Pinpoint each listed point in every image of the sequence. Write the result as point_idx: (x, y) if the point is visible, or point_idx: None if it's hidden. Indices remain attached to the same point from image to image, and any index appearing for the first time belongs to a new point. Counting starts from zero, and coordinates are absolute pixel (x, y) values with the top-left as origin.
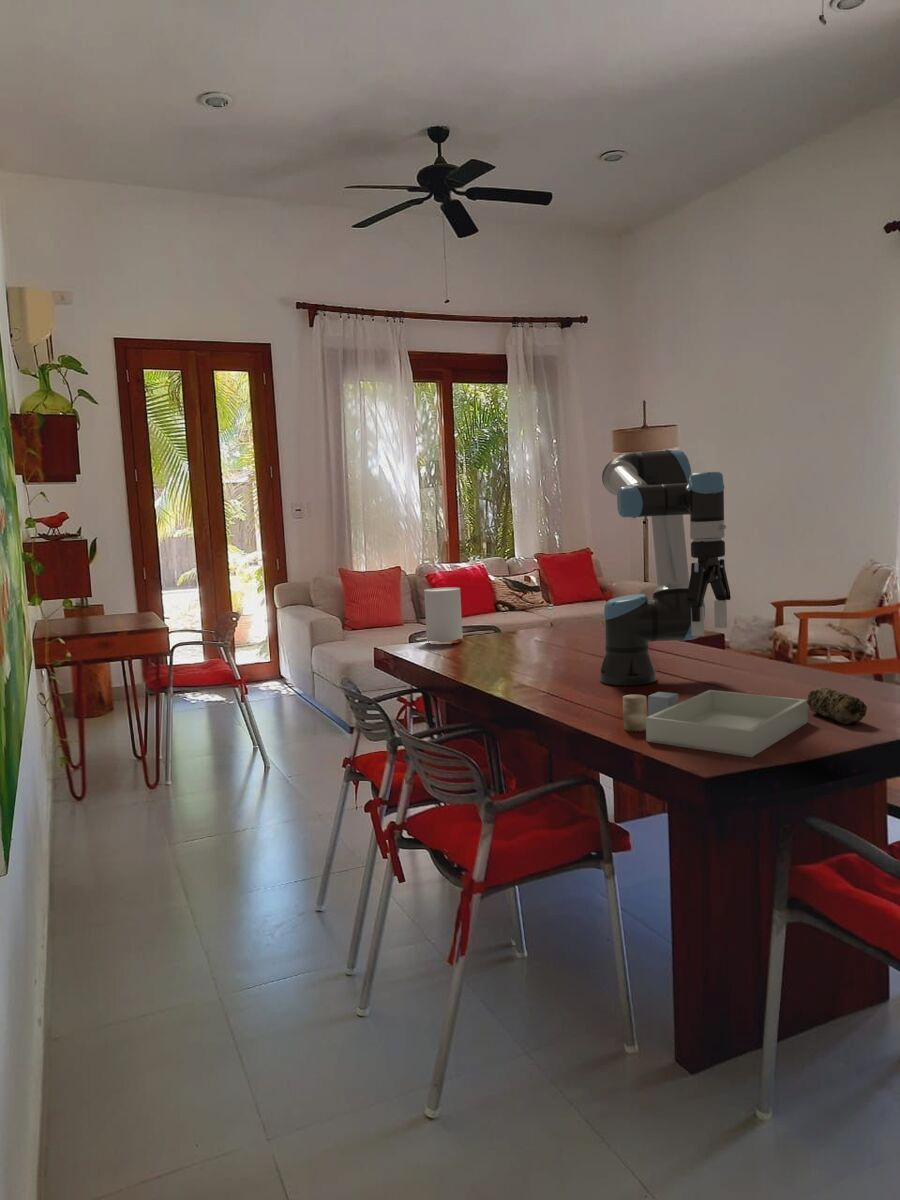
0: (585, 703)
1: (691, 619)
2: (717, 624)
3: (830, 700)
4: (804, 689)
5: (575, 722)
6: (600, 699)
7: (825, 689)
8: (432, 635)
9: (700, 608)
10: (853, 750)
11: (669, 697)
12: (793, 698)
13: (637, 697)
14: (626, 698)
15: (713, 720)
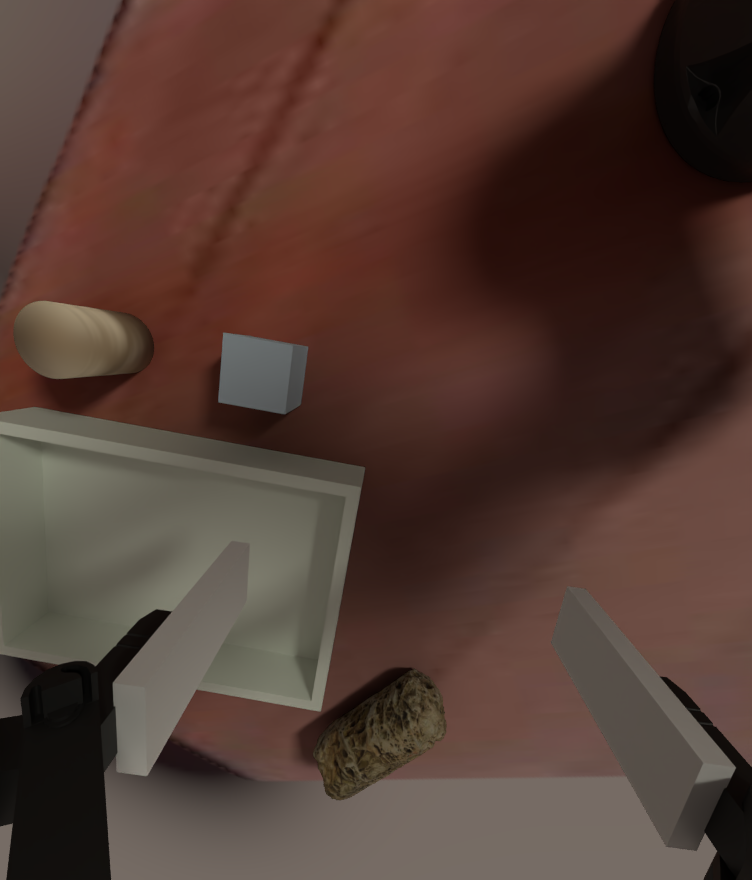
0: (340, 61)
1: (180, 603)
2: (571, 614)
3: (349, 744)
4: (670, 625)
5: (103, 148)
6: (414, 91)
7: (399, 748)
8: None
9: (123, 747)
10: (171, 740)
11: (227, 403)
12: (323, 686)
13: (48, 352)
14: (20, 322)
15: (248, 504)
